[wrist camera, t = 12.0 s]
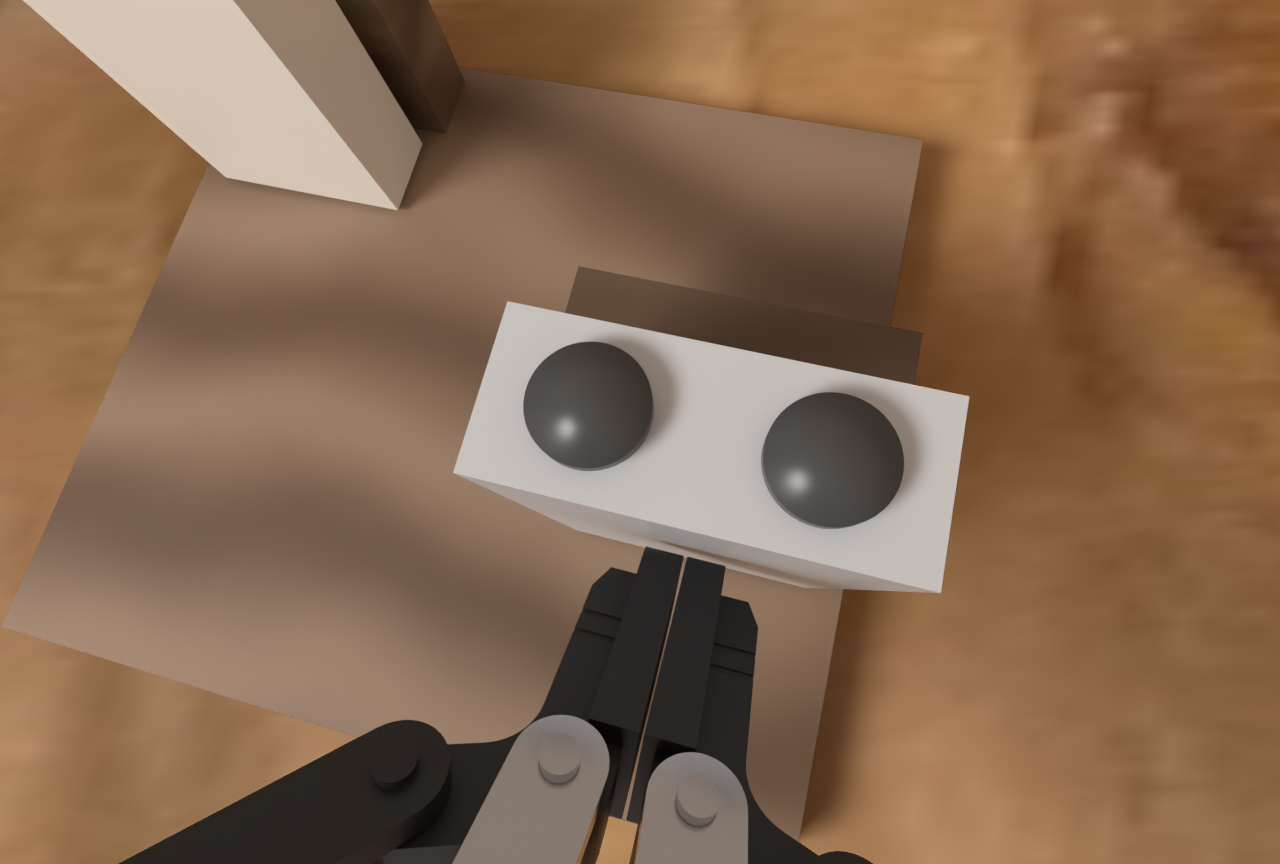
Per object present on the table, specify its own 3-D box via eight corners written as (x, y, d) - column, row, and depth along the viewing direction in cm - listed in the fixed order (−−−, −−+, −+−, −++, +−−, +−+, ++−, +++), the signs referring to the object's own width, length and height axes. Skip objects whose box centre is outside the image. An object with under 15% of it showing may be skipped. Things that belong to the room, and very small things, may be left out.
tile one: (397, 210, 19) (145, -113, 10) (225, 177, 20) (-148, -149, 11) (422, 143, 20) (201, -220, 11) (253, 114, 21) (-83, -248, 12)
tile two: (803, 587, 16) (952, 592, 7) (576, 530, 17) (443, 468, 8) (821, 495, 16) (980, 389, 7) (600, 444, 17) (501, 290, 8)
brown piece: (783, 846, 16) (843, 1016, 10) (54, 623, 19) (-263, 643, 13) (906, 171, 20) (1003, -14, 14) (292, 70, 23) (142, -121, 17)
